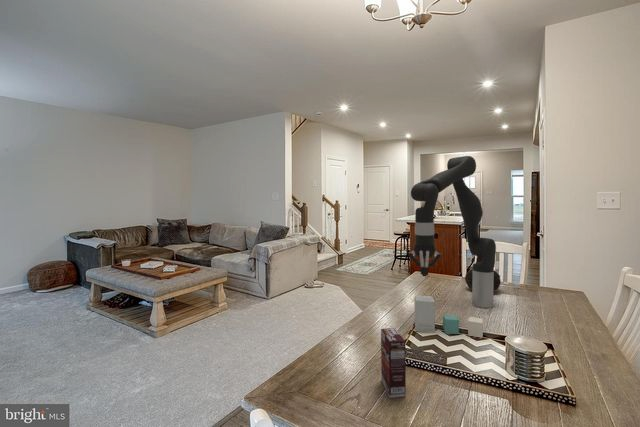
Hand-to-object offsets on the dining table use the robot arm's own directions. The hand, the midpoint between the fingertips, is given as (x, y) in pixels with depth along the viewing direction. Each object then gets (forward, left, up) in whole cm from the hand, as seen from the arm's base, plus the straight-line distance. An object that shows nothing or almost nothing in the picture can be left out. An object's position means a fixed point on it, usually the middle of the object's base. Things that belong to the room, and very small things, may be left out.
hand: (424, 275), depth 132 cm
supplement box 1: (+46, -7, -22) cm, 51 cm away
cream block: (0, +19, -22) cm, 29 cm away
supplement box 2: (0, 0, -22) cm, 22 cm away
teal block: (0, +10, -22) cm, 24 cm away
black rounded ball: (-64, +29, -22) cm, 74 cm away
